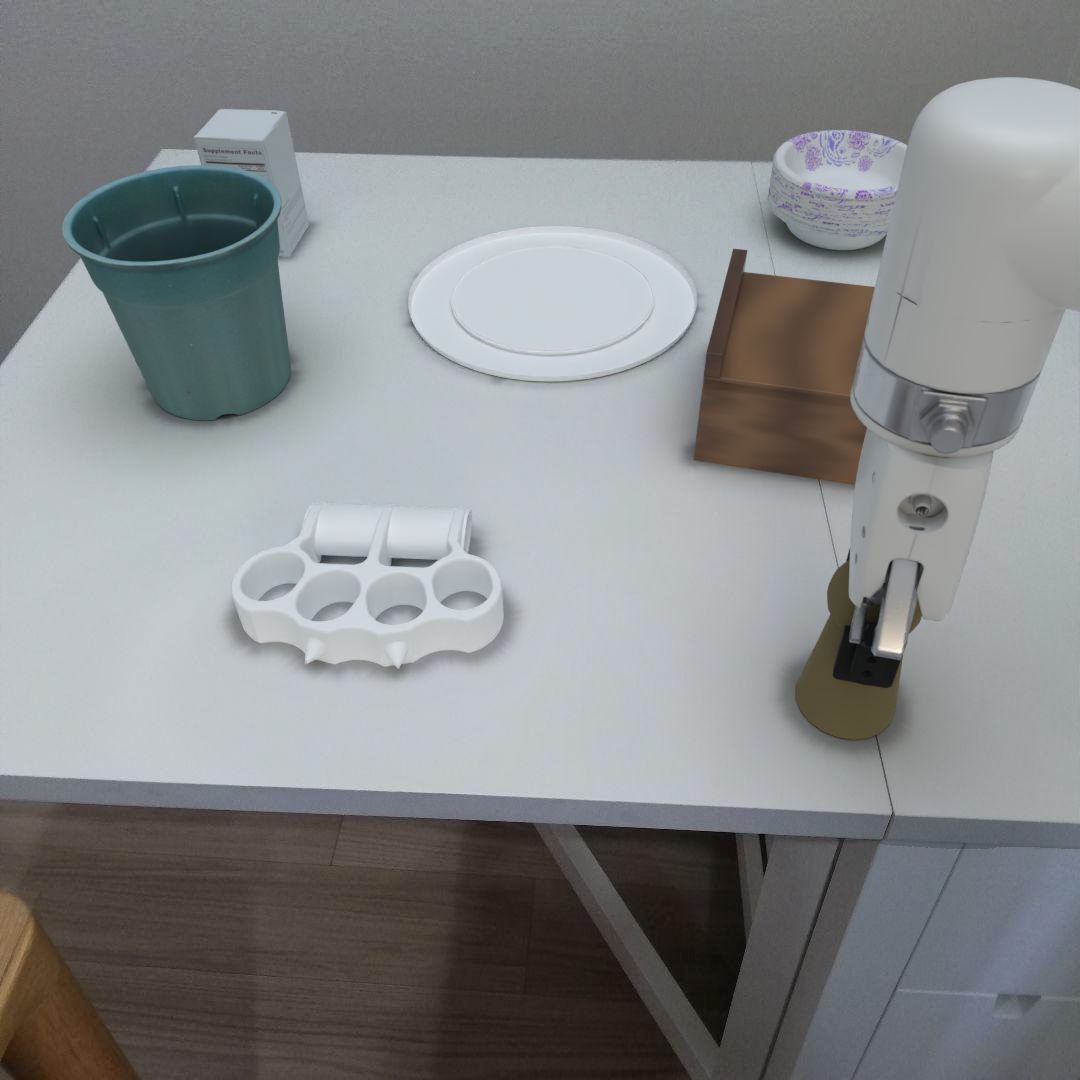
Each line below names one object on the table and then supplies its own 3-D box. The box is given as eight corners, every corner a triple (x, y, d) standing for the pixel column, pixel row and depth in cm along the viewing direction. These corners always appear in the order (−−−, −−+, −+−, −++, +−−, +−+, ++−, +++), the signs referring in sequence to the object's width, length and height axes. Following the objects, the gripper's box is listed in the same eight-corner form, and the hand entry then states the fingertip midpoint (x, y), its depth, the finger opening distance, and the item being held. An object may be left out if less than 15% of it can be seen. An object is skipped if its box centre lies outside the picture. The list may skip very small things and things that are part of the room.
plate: (757, 308, 94) (758, 301, 93) (528, 423, 81) (528, 416, 81) (569, 207, 110) (569, 201, 109) (354, 291, 97) (353, 285, 97)
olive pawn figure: (787, 723, 60) (817, 602, 52) (803, 650, 64) (833, 528, 56) (889, 751, 58) (936, 630, 50) (900, 674, 62) (944, 551, 54)
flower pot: (343, 401, 84) (310, 226, 73) (152, 463, 79) (84, 283, 68) (282, 314, 95) (245, 149, 83) (109, 363, 89) (44, 193, 78)
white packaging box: (247, 223, 108) (219, 106, 100) (311, 226, 108) (288, 109, 99) (222, 255, 103) (190, 135, 94) (290, 259, 102) (264, 138, 94)
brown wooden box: (878, 372, 86) (907, 267, 79) (874, 489, 75) (907, 379, 68) (719, 351, 89) (733, 248, 82) (693, 461, 78) (706, 352, 71)
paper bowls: (799, 274, 98) (813, 199, 93) (741, 208, 109) (751, 137, 103) (936, 254, 101) (957, 180, 95) (867, 191, 111) (883, 121, 106)
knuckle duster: (515, 531, 72) (494, 690, 62) (278, 521, 74) (218, 676, 63) (514, 497, 70) (492, 657, 60) (268, 488, 71) (204, 643, 61)
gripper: (1050, 518, 37) (933, 777, 50) (1015, 293, 49) (928, 549, 62) (848, 490, 39) (784, 748, 52) (861, 278, 51) (806, 531, 63)
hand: (863, 637), depth 57 cm, fingers closed on olive pawn figure, 5 cm apart
